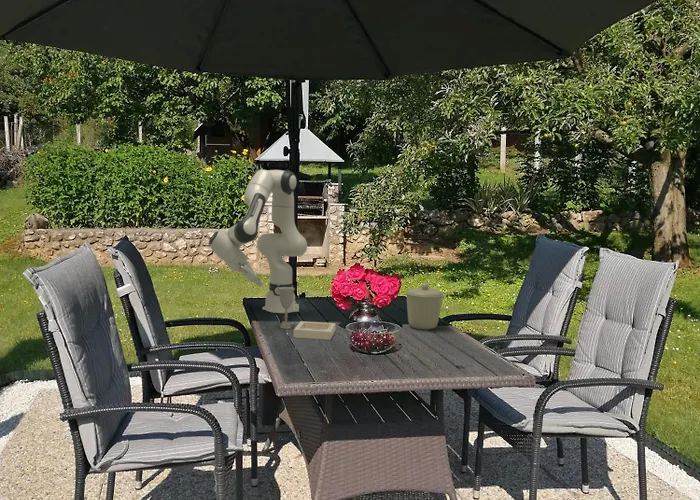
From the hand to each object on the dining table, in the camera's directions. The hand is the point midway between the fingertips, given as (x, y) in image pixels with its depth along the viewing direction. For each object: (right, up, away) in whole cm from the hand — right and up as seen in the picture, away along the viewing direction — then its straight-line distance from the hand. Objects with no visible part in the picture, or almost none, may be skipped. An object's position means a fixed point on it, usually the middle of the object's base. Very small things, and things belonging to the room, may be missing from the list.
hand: (260, 283), depth 307 cm
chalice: (+11, -20, +5) cm, 24 cm away
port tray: (+25, -22, -5) cm, 34 cm away
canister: (+75, -21, +15) cm, 79 cm away
